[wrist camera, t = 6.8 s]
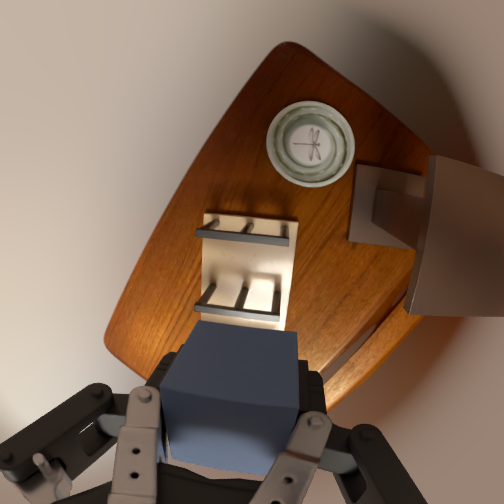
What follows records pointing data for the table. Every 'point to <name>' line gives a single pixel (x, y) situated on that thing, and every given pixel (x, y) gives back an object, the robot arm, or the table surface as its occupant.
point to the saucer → (310, 144)
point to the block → (232, 397)
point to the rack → (246, 270)
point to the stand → (438, 233)
